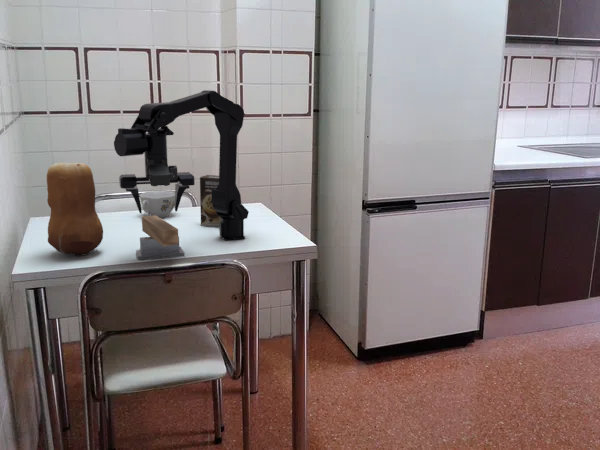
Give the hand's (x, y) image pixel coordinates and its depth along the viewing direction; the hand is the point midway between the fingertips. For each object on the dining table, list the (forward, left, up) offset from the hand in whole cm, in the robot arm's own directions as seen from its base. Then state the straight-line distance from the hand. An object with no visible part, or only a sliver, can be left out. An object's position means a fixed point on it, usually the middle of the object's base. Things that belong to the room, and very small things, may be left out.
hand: (158, 212), depth 152 cm
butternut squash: (+21, -8, -12) cm, 25 cm away
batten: (0, 0, -7) cm, 7 cm away
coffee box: (-22, -29, -12) cm, 38 cm away
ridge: (0, 0, -12) cm, 12 cm away
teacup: (-5, -47, -12) cm, 49 cm away
